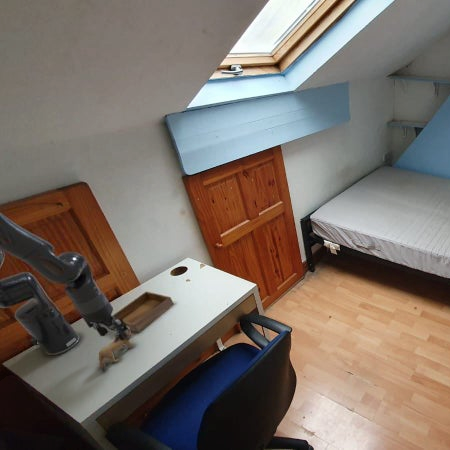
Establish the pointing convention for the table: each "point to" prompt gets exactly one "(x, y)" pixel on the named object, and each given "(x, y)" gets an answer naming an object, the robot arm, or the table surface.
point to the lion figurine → (114, 349)
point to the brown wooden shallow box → (144, 310)
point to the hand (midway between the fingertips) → (114, 336)
